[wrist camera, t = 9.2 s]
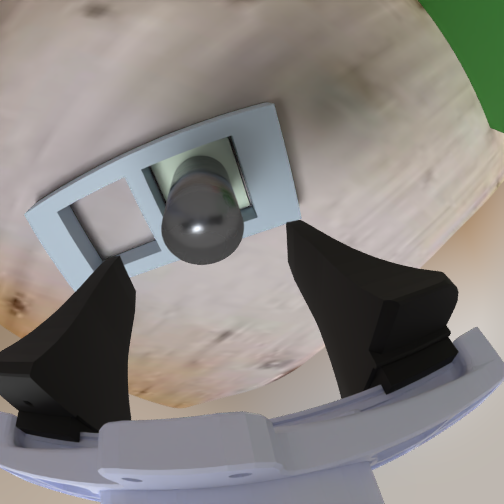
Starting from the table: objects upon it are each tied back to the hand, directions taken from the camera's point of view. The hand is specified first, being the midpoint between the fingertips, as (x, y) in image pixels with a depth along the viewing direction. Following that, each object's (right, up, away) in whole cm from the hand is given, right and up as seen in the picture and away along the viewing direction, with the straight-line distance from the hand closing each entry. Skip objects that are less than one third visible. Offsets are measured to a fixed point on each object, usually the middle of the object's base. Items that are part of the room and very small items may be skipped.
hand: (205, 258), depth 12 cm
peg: (-2, +5, +7) cm, 9 cm away
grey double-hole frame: (-5, +4, +8) cm, 10 cm away
